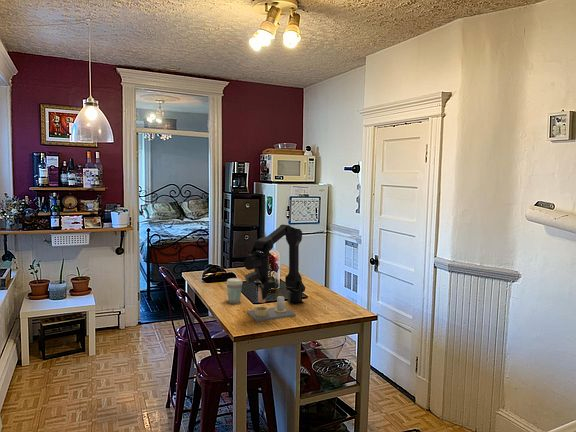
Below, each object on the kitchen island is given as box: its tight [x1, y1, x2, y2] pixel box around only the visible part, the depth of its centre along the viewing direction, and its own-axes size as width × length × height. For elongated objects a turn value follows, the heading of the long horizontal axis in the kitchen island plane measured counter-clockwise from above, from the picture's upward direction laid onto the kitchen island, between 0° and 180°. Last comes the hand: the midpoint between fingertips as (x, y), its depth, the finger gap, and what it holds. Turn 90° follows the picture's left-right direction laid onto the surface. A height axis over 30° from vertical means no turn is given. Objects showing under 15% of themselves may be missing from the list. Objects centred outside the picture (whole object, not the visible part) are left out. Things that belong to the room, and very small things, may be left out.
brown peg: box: [257, 284, 267, 304], centre depth 206 cm, size 4×4×8 cm
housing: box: [246, 295, 297, 323], centre depth 209 cm, size 20×13×8 cm, turn 116°
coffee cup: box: [225, 277, 243, 305], centre depth 226 cm, size 8×9×12 cm
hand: (262, 298), depth 206 cm, fingers closed on brown peg, 3 cm apart
